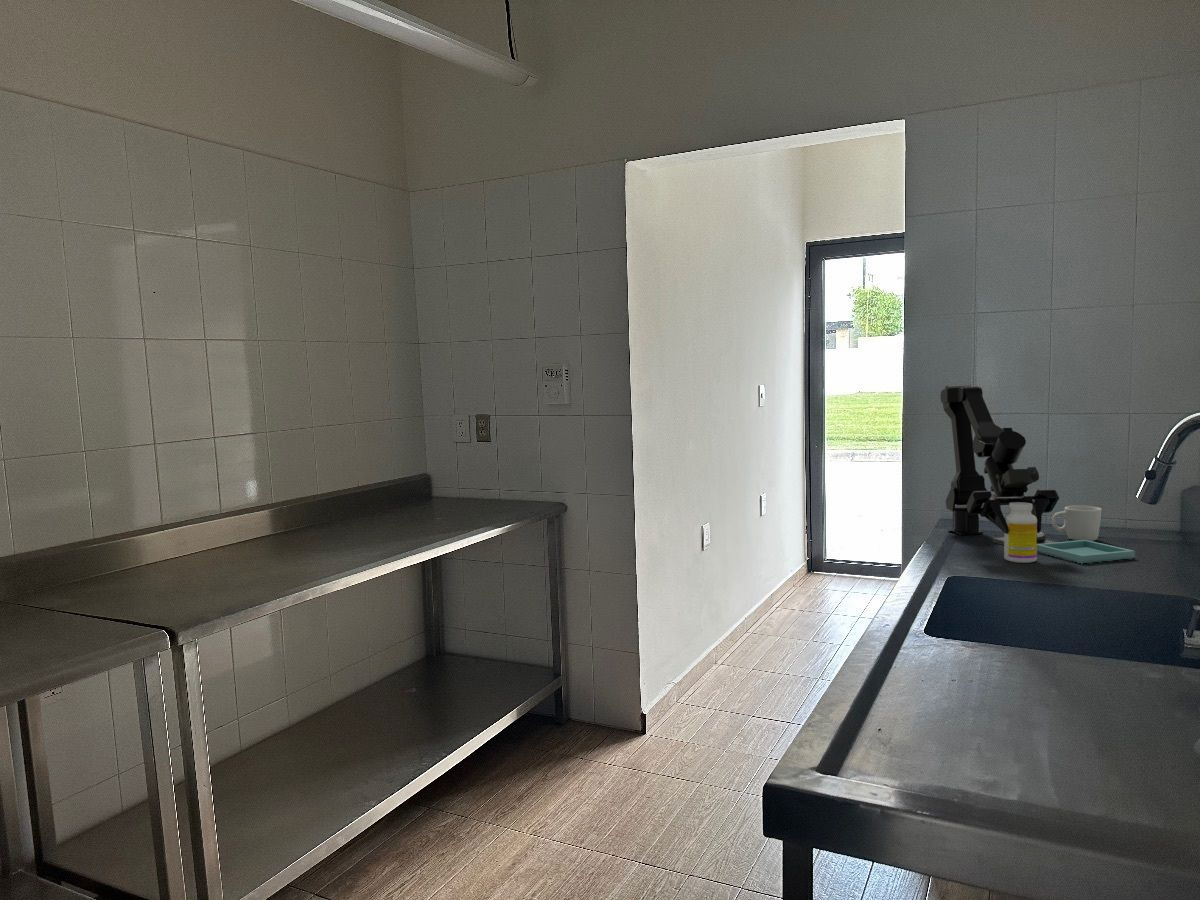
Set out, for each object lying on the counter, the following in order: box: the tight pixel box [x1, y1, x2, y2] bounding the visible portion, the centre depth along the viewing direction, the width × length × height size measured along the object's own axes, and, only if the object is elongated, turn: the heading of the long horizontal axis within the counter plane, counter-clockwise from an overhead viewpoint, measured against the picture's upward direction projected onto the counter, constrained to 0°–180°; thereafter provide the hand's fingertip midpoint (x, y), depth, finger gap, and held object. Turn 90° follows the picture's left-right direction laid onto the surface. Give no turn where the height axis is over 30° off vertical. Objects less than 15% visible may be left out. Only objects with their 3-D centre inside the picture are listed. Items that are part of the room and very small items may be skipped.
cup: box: [1051, 505, 1103, 542], centre depth 210 cm, size 11×8×8 cm
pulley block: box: [992, 531, 1056, 546], centre depth 206 cm, size 12×10×4 cm
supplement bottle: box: [1003, 502, 1038, 564], centre depth 190 cm, size 7×7×13 cm
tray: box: [1037, 540, 1136, 565], centre depth 193 cm, size 14×14×2 cm
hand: (1023, 532), depth 189 cm, fingers closed on supplement bottle, 7 cm apart
